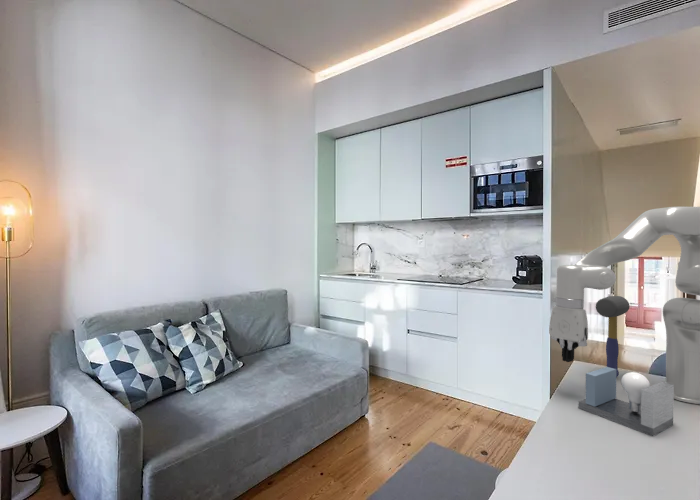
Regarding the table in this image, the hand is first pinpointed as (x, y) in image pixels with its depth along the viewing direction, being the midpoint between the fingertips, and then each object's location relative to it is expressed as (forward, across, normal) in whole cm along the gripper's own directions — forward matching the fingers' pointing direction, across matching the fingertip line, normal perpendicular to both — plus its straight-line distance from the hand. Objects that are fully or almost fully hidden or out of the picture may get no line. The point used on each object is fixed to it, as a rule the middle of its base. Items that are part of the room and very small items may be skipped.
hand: (567, 360), depth 114 cm
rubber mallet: (+11, -2, +32) cm, 34 cm away
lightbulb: (+10, +18, +2) cm, 20 cm away
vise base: (+11, +15, +1) cm, 19 cm away
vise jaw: (+9, +10, +1) cm, 13 cm away
